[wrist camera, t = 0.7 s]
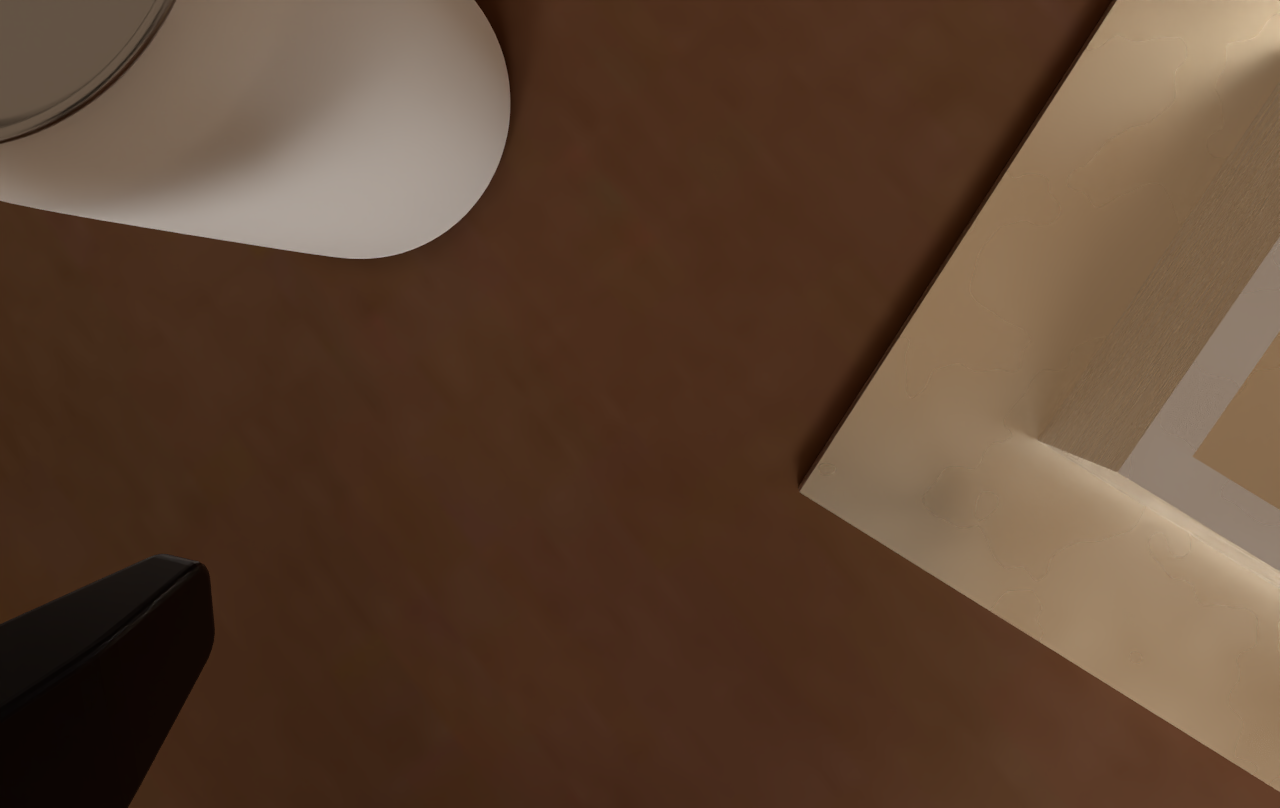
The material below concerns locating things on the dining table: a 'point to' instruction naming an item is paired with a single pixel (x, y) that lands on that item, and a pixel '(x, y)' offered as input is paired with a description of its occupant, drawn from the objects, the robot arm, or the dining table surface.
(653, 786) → the dining table surface
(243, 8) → the can
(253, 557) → the dining table surface
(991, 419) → the cup bracket
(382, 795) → the dining table surface
